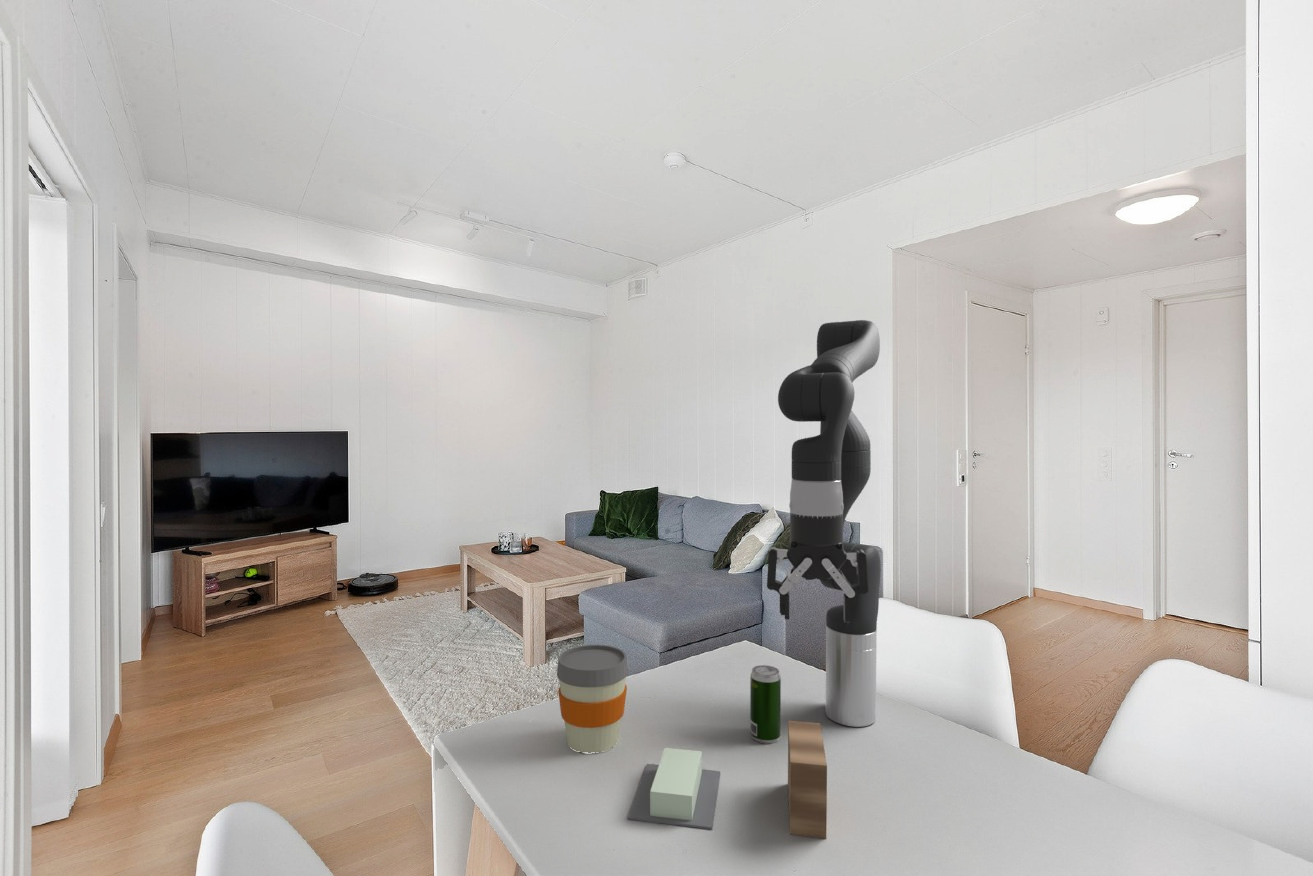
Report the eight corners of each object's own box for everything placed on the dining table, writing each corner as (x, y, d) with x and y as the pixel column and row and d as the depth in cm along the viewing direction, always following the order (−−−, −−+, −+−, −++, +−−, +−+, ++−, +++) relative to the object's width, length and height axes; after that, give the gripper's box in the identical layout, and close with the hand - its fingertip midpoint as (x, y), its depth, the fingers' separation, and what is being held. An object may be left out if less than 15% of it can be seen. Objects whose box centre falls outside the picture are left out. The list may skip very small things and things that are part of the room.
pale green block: (664, 769, 100) (664, 747, 100) (701, 773, 99) (701, 751, 99) (650, 815, 88) (650, 791, 88) (692, 820, 87) (692, 796, 87)
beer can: (764, 747, 107) (765, 679, 107) (743, 734, 112) (744, 668, 111) (786, 739, 110) (787, 672, 110) (765, 726, 115) (766, 662, 114)
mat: (647, 765, 102) (647, 763, 102) (720, 773, 99) (720, 771, 99) (627, 819, 88) (627, 817, 88) (712, 829, 86) (712, 827, 86)
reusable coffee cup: (543, 751, 106) (542, 664, 106) (579, 718, 118) (578, 640, 117) (608, 766, 101) (608, 676, 101) (639, 731, 113) (639, 649, 113)
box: (787, 783, 97) (788, 720, 96) (819, 787, 96) (820, 723, 95) (790, 834, 85) (790, 762, 84) (826, 838, 84) (827, 765, 84)
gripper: (864, 507, 93) (863, 614, 93) (767, 505, 96) (767, 609, 96) (870, 515, 85) (870, 631, 86) (765, 513, 88) (766, 625, 89)
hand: (816, 619), depth 91 cm, fingers open, 8 cm apart
